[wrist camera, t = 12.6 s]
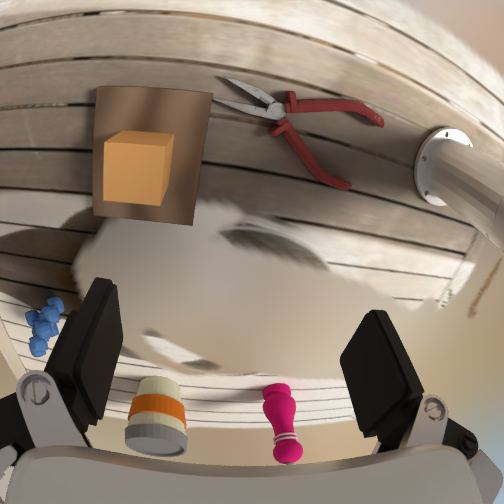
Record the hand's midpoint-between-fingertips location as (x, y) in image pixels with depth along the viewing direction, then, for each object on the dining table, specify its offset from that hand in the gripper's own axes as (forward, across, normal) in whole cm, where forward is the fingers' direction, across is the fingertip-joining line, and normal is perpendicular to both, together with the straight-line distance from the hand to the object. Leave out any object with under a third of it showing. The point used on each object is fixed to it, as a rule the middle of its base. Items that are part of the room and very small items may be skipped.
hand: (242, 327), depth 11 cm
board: (+27, +10, +2) cm, 29 cm away
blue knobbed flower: (+26, +27, +28) cm, 47 cm away
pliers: (+29, -8, -6) cm, 30 cm away
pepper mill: (+28, -18, +50) cm, 60 cm away
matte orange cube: (+25, +10, +2) cm, 27 cm away
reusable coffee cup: (+27, +8, +51) cm, 58 cm away
